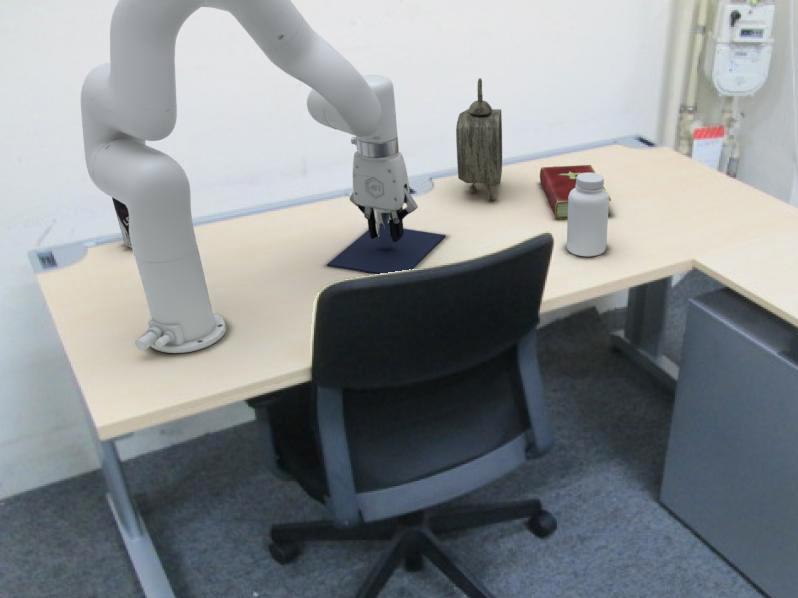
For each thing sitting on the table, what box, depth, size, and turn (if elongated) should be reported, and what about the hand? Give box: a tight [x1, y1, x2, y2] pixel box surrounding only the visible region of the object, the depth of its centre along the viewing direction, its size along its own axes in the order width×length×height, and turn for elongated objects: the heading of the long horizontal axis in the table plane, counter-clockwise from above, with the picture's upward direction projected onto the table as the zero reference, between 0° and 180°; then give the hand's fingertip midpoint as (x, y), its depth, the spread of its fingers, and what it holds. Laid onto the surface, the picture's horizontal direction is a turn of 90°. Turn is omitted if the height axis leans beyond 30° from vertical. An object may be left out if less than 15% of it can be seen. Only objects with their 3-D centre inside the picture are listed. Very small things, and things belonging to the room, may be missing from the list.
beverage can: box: [111, 197, 132, 249], centre depth 177 cm, size 6×6×12 cm
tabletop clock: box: [455, 77, 503, 202], centre depth 198 cm, size 14×9×25 cm, turn 179°
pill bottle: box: [566, 172, 610, 257], centre depth 176 cm, size 8×8×15 cm
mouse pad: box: [326, 228, 446, 275], centre depth 179 cm, size 20×16×1 cm
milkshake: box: [373, 208, 394, 248], centre depth 175 cm, size 4×5×10 cm
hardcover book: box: [539, 164, 612, 221], centre depth 201 cm, size 12×21×4 cm, turn 9°
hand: (386, 236), depth 177 cm, fingers closed on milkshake, 4 cm apart
